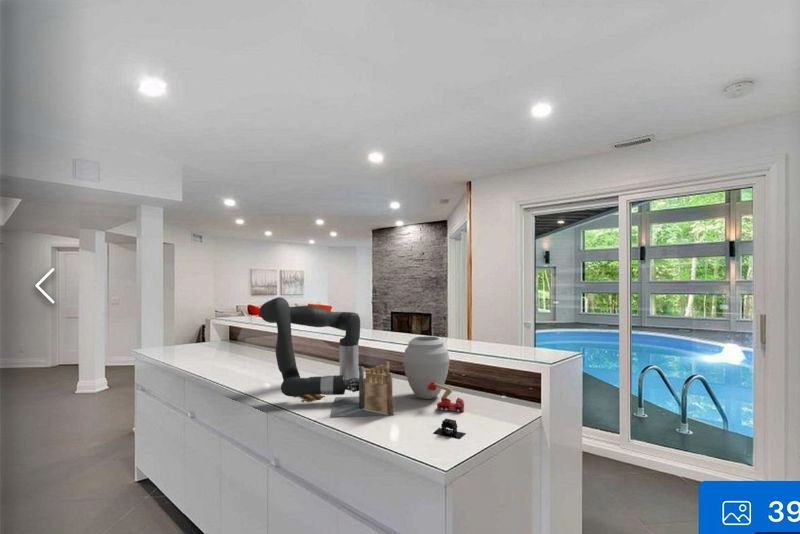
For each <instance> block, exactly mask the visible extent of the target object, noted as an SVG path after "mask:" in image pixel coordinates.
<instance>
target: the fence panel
mask: <svg viewBox="0 0 800 534" xmlns="http://www.w3.org/2000/svg"><path fill="white" fill-rule="evenodd" d="M367 372H370V373H371V381H372V373H377V374H382V383H383V375H387V373H390V361H386V360H385V361H384V362H383V364H380V365H379V366H378V365H377V366H374V367H370V369H369V368H367V369H365V374H366V373H367ZM365 381H366V377H364V406H365Z"/></svg>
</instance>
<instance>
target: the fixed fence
mask: <svg viewBox="0 0 800 534" xmlns="http://www.w3.org/2000/svg"><path fill="white" fill-rule="evenodd" d="M364 368H365V367H364V366H363V365H362V366H358V378H359V391H358V396H359V408H360V409H363V408H364V378H366V381H365V409H370V410H375V411H380V412H385V413H387V414H389V415H387V416H390V417H391V416H393V415H392V414H393V410H394V405H393V397H394V396H393V372H389V373H387V375H383V383H382V374H377V373H372V381H371V373H370V372H367V373H366V372H365V371H364Z"/></svg>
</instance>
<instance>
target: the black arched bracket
mask: <svg viewBox="0 0 800 534" xmlns="http://www.w3.org/2000/svg"><path fill="white" fill-rule="evenodd" d="M432 434H433V435H437V436H441V437H446V438H447V437H448V438H451V439H457V440H461V439H462V438H464V436H465V435H467V433H466V432H462V431H458V424H457V420H455V419H450V418H445V419H443V420H442V422H441V426H440V427H438V428H437V429H436V430H435V431H434V432H432Z"/></svg>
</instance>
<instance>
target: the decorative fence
mask: <svg viewBox="0 0 800 534" xmlns="http://www.w3.org/2000/svg"><path fill="white" fill-rule="evenodd" d="M299 397H304V398H305V399H301V402H303V401H307V402H310V401H309V400H311V401H315V399H316V400H321V399H323V397H324V398H325V397H326V395H300V396H299ZM299 397H298V396H294V397H293V398H299Z"/></svg>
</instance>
